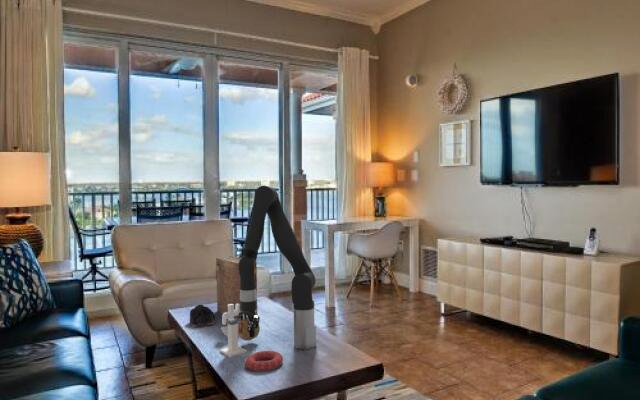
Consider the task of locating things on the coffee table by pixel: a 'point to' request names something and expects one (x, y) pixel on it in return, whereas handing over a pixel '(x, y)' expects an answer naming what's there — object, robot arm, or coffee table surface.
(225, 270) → the brown wooden box
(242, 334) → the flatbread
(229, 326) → the post
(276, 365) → the torus
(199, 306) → the black rough rounded lump
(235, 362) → the coffee table surface
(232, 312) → the figurine
